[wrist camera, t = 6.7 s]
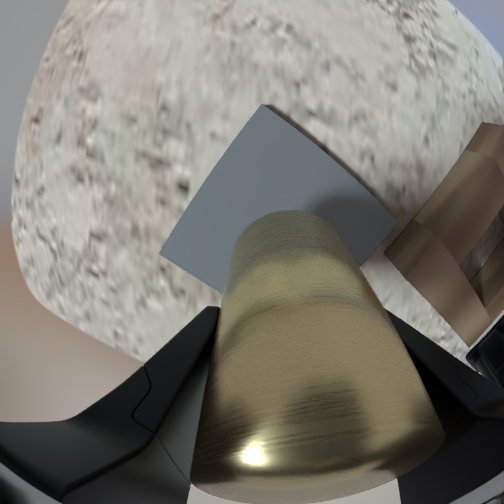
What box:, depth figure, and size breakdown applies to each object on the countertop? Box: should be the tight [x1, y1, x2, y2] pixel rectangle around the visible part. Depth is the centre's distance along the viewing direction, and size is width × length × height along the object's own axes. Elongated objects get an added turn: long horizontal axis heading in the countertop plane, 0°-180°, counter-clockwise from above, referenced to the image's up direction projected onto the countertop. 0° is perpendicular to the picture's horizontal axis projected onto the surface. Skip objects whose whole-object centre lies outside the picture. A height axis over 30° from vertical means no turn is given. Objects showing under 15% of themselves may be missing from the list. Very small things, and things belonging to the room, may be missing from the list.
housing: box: [384, 122, 504, 347], centre depth 13 cm, size 12×12×3 cm
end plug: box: [190, 210, 445, 504], centre depth 8 cm, size 5×5×9 cm
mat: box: [159, 104, 399, 294], centre depth 15 cm, size 10×10×1 cm
